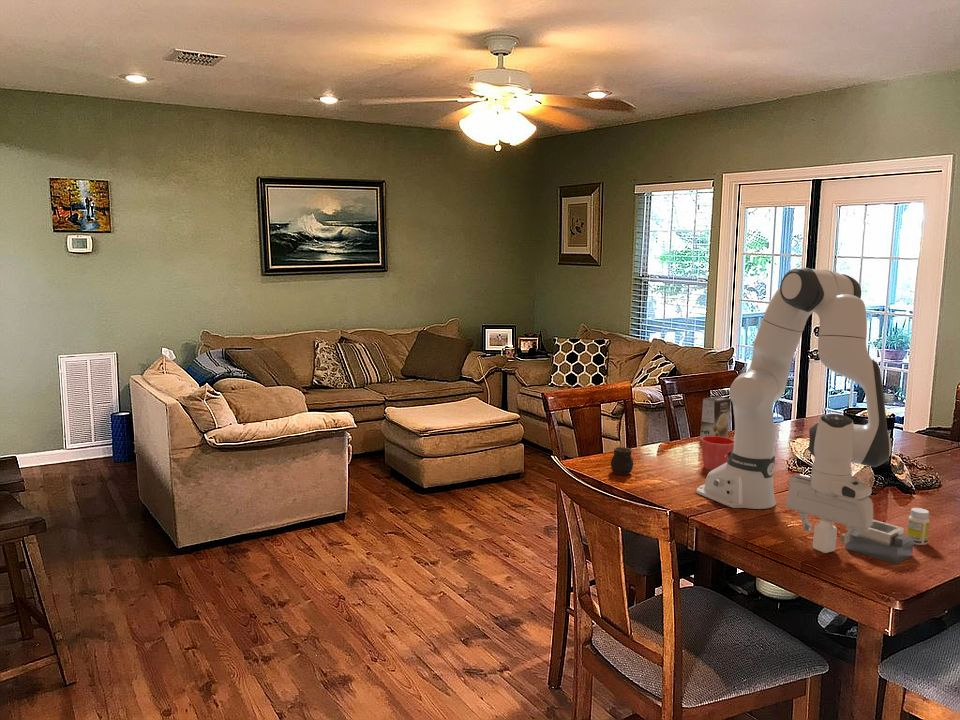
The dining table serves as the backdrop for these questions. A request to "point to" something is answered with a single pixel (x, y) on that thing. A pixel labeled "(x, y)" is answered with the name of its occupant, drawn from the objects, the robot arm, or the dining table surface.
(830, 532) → the white bottle
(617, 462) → the mate gourd
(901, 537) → the block
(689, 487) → the dining table surface
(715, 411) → the coffee box
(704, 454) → the flower pot
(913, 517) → the supplement bottle
